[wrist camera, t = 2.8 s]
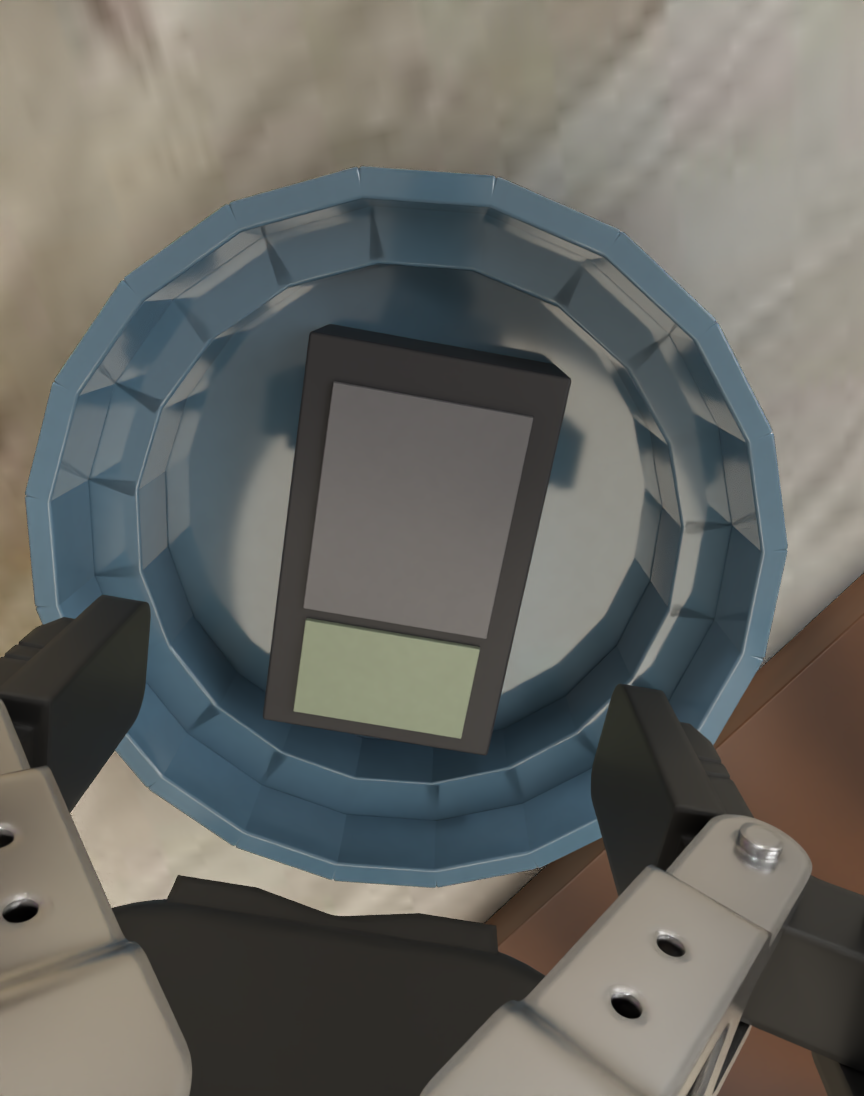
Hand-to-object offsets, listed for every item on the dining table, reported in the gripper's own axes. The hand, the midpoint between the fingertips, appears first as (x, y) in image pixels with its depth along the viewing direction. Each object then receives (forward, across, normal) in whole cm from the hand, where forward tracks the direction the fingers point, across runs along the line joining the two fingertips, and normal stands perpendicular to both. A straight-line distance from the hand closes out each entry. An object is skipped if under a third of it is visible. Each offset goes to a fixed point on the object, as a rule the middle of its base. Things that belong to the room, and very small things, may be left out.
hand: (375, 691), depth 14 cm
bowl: (+10, 0, 0) cm, 10 cm away
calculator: (+9, 0, 0) cm, 9 cm away
